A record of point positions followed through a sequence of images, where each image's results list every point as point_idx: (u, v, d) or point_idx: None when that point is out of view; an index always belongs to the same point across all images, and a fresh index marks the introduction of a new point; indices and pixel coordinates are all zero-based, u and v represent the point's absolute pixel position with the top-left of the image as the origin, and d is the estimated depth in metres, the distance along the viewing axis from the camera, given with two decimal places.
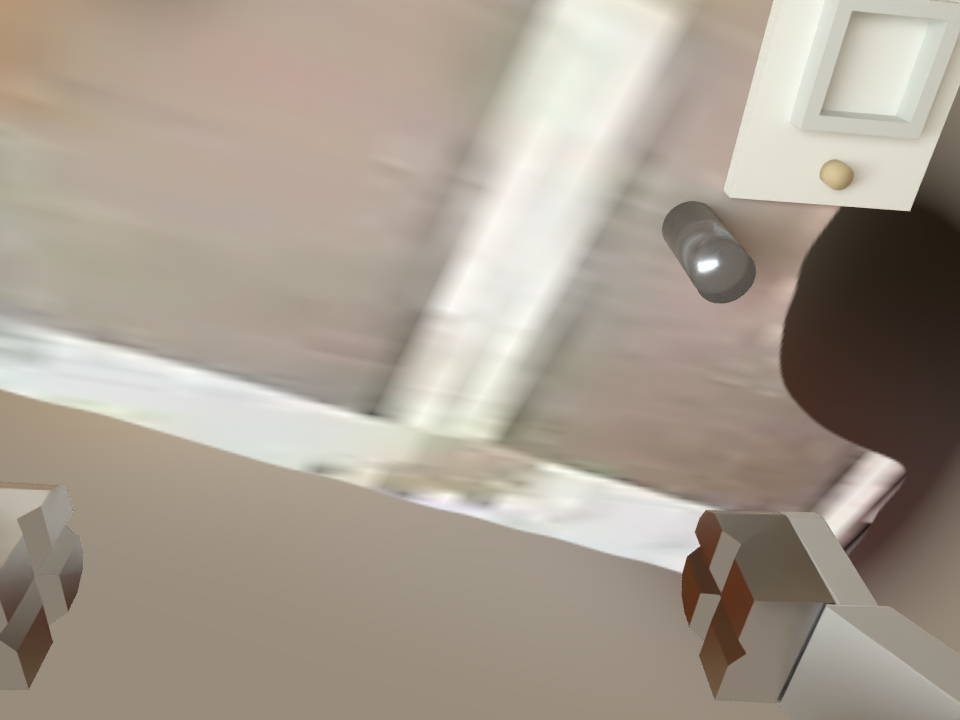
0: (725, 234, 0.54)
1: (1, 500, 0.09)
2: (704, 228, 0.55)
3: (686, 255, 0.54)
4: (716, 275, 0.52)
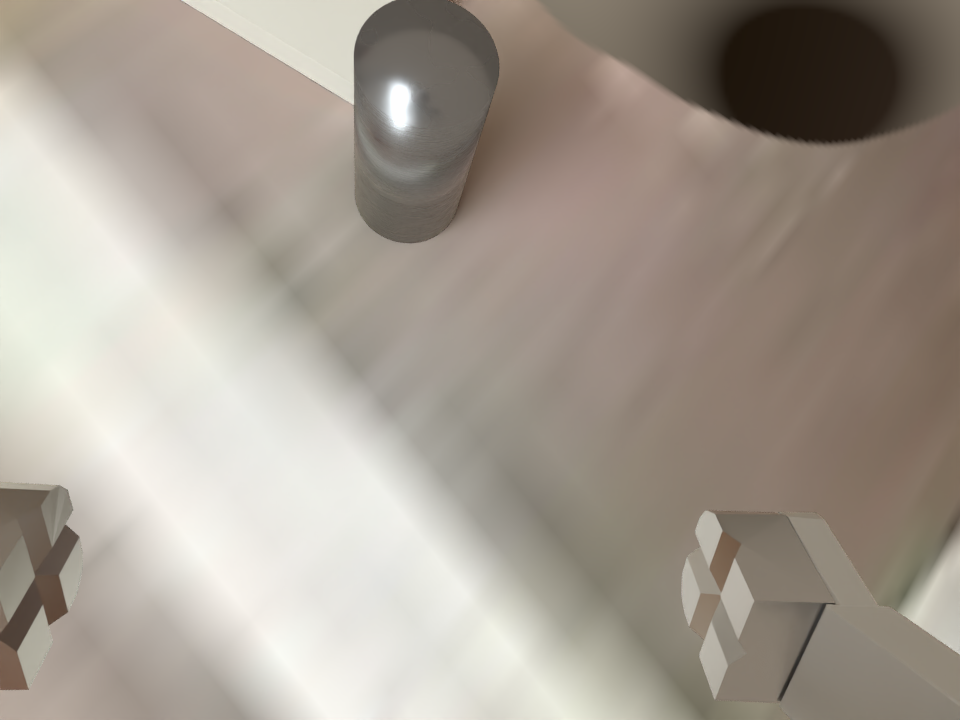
0: None
1: (1, 500, 0.09)
2: None
3: (379, 156, 0.24)
4: (414, 76, 0.21)
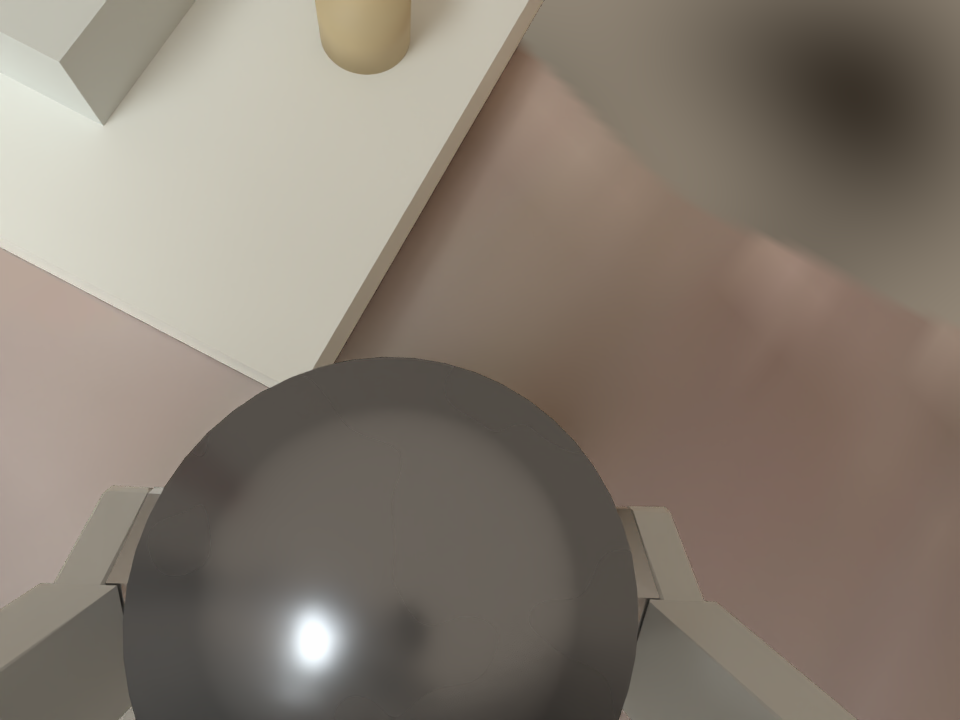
0: None
1: None
2: None
3: None
4: (343, 679, 0.06)
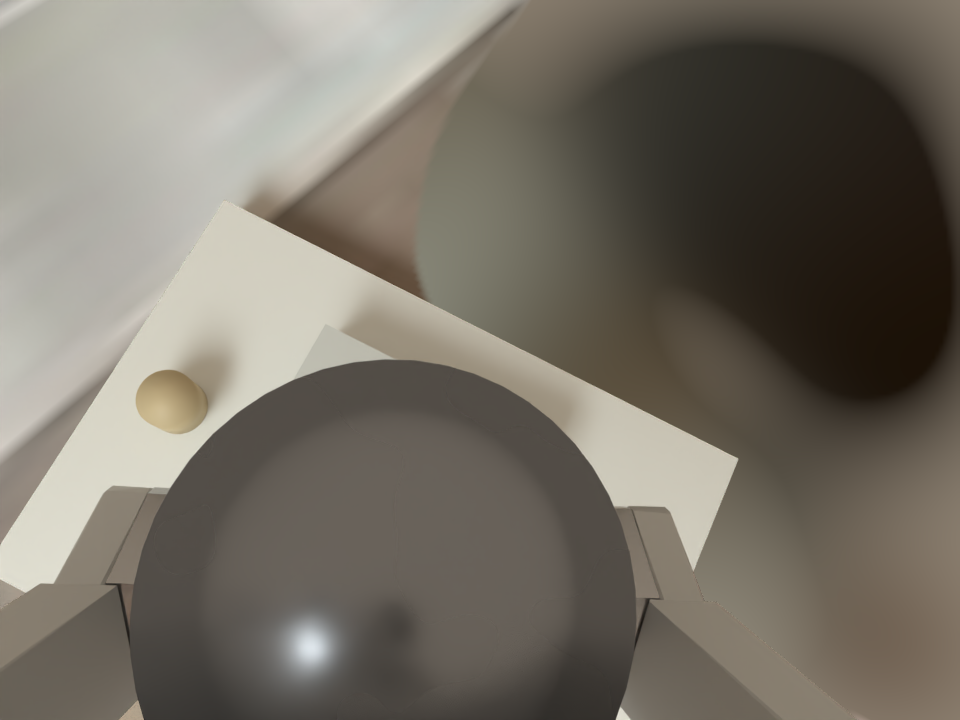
0: None
1: None
2: None
3: None
4: (347, 677, 0.06)
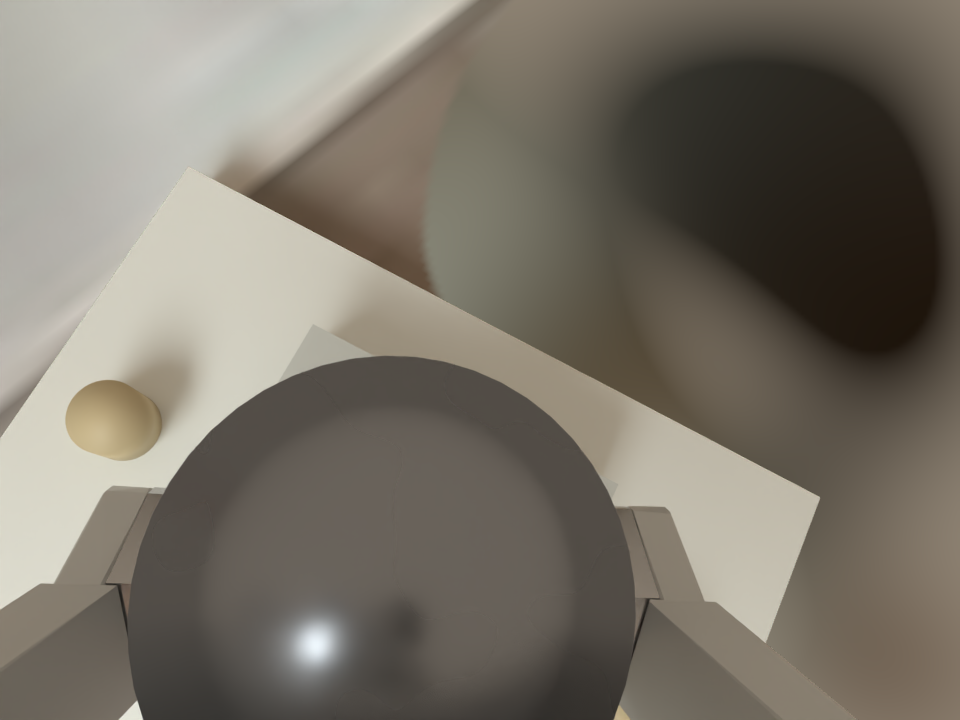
0: None
1: None
2: None
3: None
4: (345, 673, 0.06)
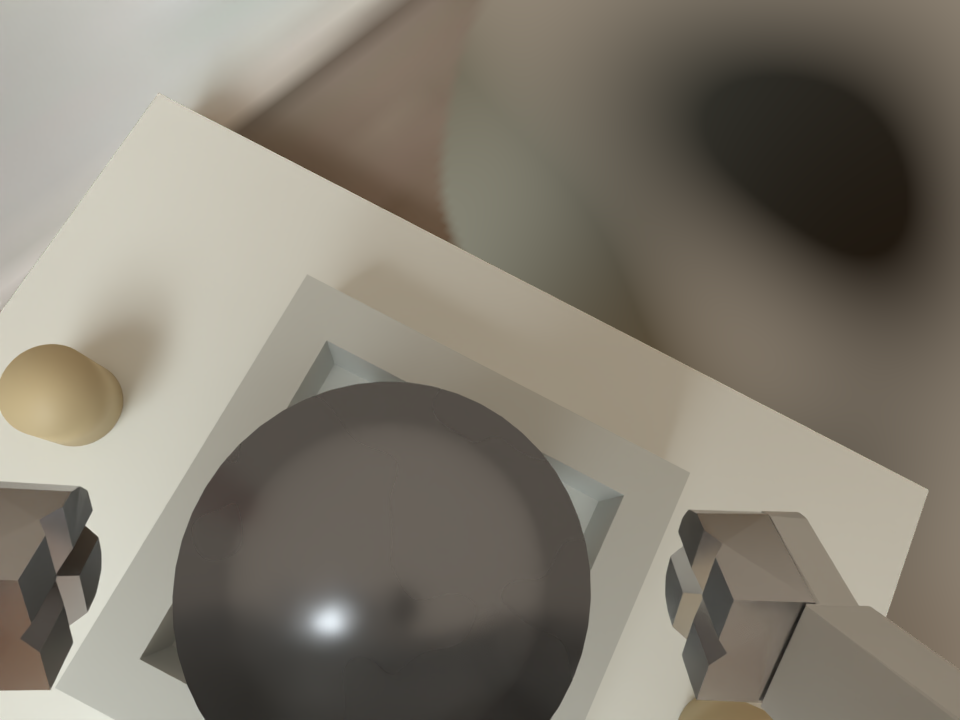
0: None
1: (23, 501, 0.09)
2: None
3: None
4: (351, 643, 0.07)
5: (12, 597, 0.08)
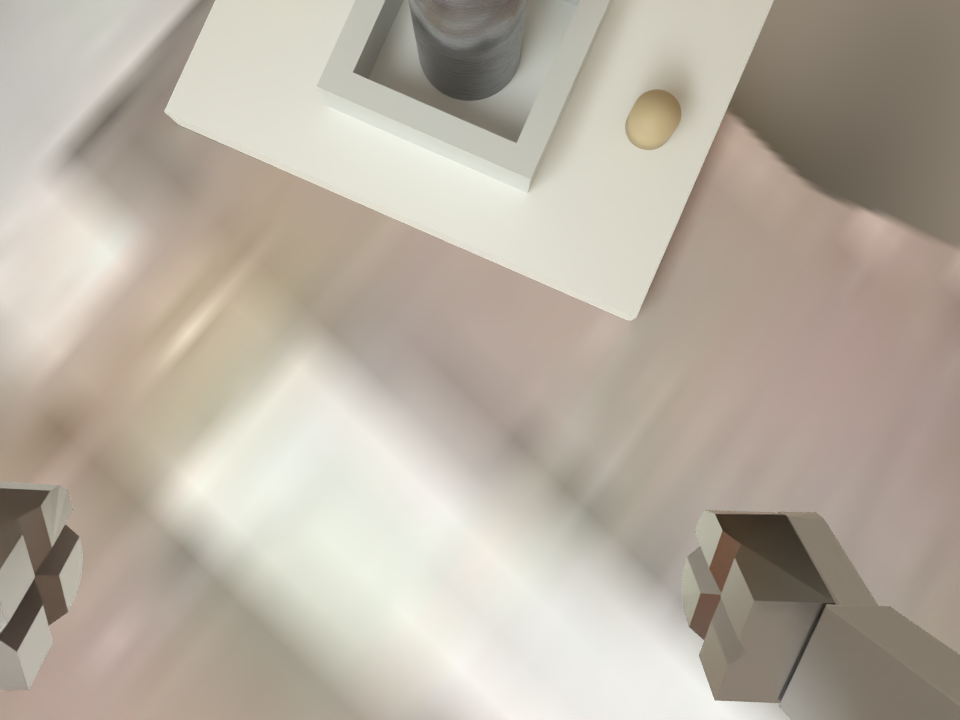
0: None
1: (1, 500, 0.09)
2: None
3: (433, 16, 0.24)
4: None
5: None
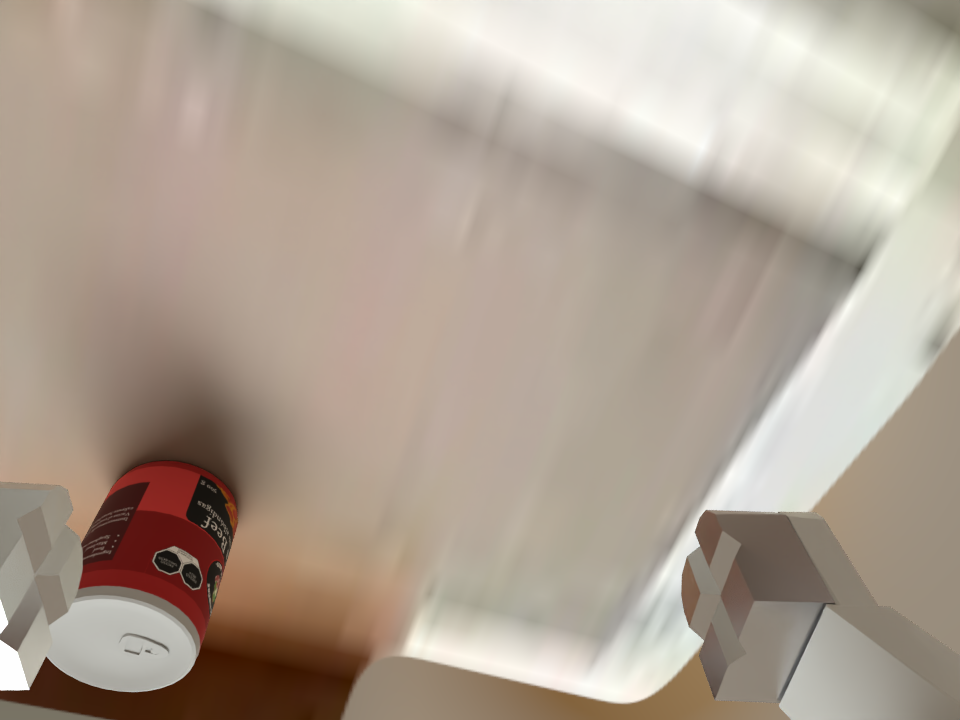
0: None
1: (1, 500, 0.09)
2: None
3: None
4: None
5: None
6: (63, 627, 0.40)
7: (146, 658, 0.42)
